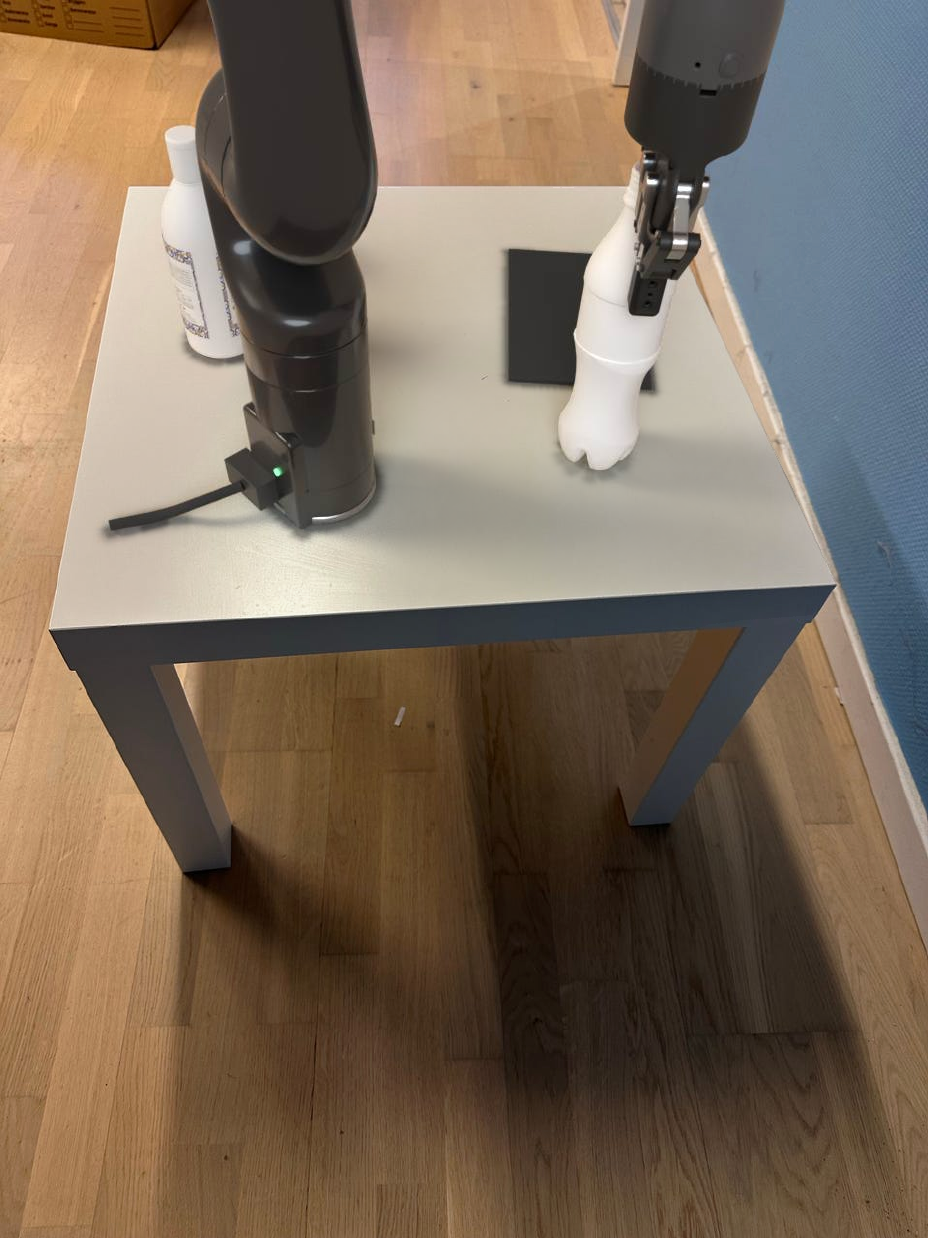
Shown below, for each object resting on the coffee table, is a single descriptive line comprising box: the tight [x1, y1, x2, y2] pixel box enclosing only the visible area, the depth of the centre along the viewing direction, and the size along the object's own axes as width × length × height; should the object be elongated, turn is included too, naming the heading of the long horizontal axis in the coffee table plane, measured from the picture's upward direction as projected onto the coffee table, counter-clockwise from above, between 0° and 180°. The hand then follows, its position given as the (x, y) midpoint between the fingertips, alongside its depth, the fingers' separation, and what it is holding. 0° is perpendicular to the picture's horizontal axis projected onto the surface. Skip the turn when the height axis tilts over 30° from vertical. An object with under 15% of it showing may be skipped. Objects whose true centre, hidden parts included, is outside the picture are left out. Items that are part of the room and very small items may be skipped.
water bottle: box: [557, 160, 678, 471], centre depth 72 cm, size 7×7×25 cm
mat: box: [508, 248, 653, 390], centre depth 94 cm, size 22×14×1 cm, turn 178°
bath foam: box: [160, 124, 244, 359], centre depth 81 cm, size 7×7×20 cm
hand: (642, 309), depth 65 cm, fingers closed
